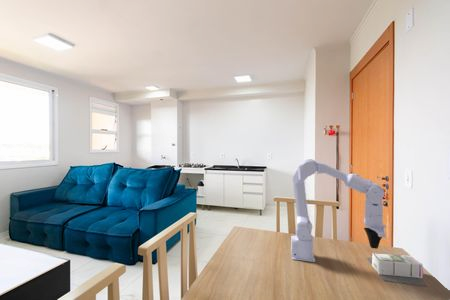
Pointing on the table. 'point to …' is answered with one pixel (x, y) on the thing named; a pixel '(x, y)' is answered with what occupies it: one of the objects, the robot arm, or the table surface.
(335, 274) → the table surface
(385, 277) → the mat
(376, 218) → the robot arm
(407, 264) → the syrup box
